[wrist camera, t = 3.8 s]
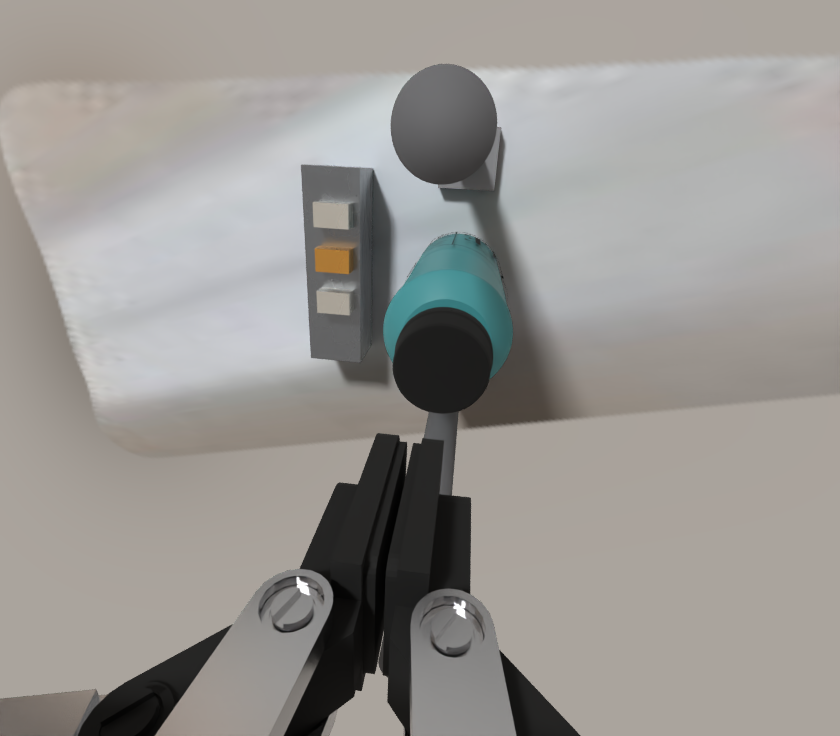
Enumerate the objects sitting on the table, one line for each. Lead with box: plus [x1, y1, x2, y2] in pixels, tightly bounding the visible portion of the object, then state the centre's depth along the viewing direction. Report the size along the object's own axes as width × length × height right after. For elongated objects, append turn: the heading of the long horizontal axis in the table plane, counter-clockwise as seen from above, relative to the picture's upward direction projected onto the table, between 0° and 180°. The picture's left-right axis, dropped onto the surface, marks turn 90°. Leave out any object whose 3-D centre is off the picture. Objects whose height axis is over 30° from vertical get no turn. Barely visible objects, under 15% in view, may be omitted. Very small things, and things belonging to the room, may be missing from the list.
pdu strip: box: [301, 165, 373, 363], centre depth 34 cm, size 4×14×5 cm, turn 177°
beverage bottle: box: [383, 232, 513, 414], centre depth 26 cm, size 6×7×20 cm
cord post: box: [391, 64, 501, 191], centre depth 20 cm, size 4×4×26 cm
